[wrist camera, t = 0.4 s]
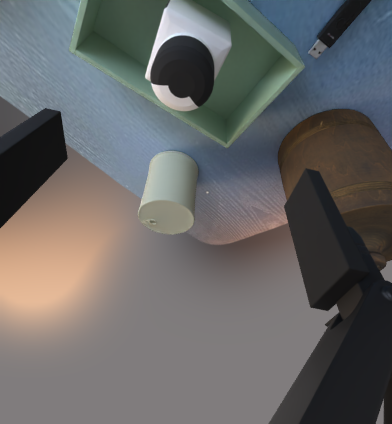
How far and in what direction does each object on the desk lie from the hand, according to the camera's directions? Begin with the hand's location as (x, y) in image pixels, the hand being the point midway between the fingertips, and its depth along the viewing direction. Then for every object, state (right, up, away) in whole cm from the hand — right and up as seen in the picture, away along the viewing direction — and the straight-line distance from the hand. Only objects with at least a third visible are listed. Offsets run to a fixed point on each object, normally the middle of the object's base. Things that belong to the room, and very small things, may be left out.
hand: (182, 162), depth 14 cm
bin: (0, +19, +17) cm, 25 cm away
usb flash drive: (+17, +19, +15) cm, 30 cm away
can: (-3, +5, +35) cm, 35 cm away
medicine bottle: (0, +18, +17) cm, 25 cm away
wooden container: (+22, +8, +29) cm, 37 cm away
